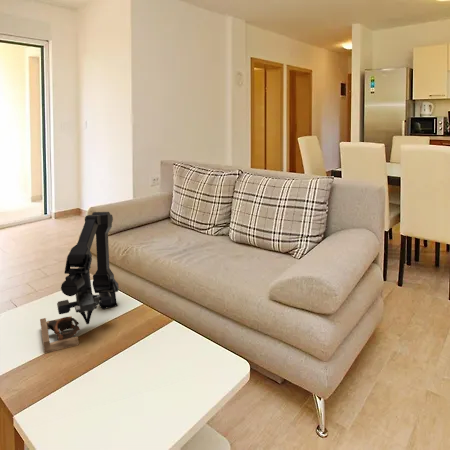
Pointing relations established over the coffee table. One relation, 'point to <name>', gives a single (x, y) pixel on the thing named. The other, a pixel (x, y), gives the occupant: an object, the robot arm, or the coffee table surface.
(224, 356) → the coffee table surface
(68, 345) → the walnut guide channel
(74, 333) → the pottery mug
